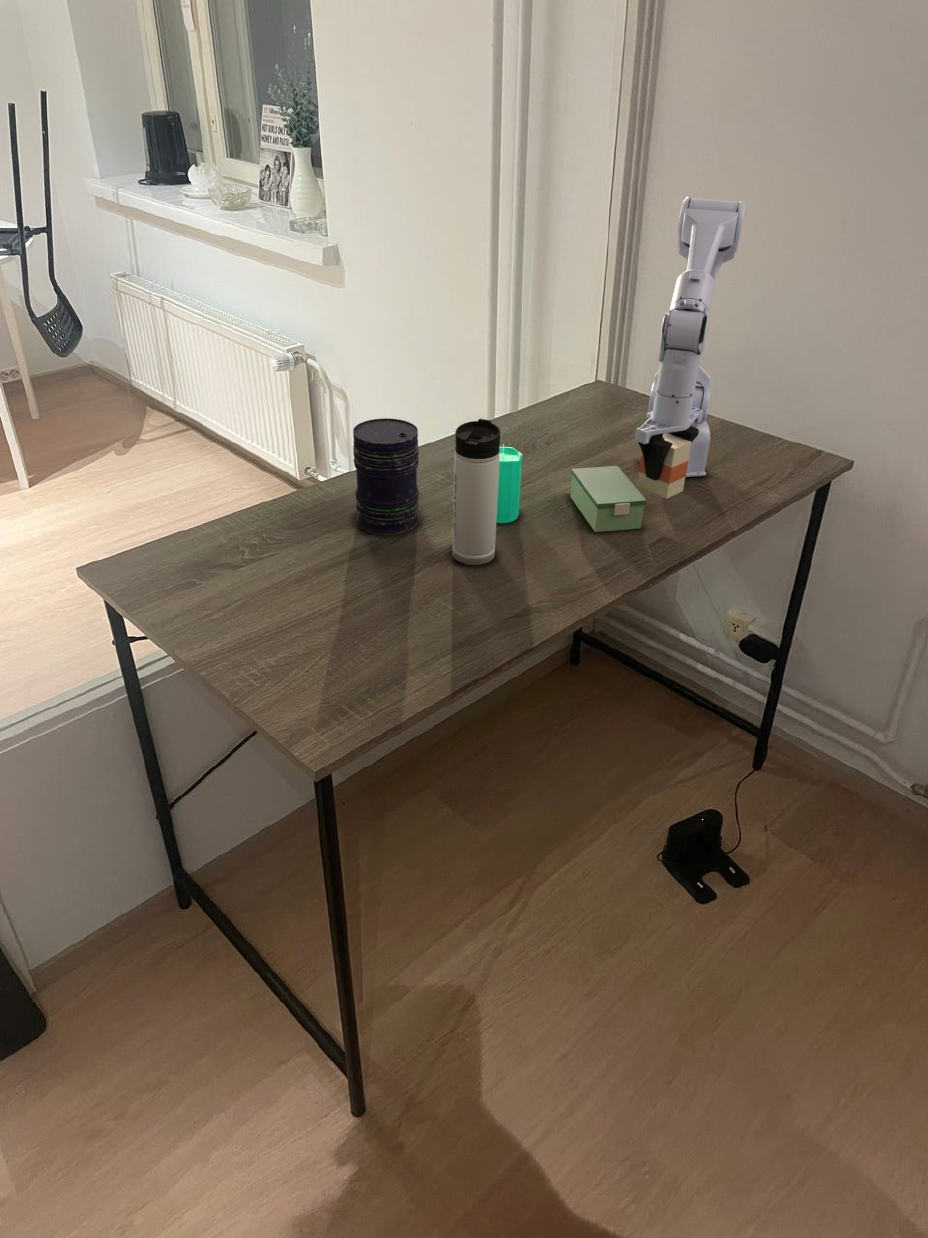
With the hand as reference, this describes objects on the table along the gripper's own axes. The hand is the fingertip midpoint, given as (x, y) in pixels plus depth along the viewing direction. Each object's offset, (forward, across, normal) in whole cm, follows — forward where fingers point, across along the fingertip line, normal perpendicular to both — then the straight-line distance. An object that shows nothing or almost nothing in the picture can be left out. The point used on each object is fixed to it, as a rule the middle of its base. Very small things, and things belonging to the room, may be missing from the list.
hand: (661, 473), depth 146 cm
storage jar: (+6, +36, -25) cm, 45 cm away
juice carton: (+3, 0, 0) cm, 3 cm away
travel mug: (+6, +34, -8) cm, 35 cm away
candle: (+6, +21, -15) cm, 27 cm away
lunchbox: (+6, +8, -4) cm, 11 cm away
